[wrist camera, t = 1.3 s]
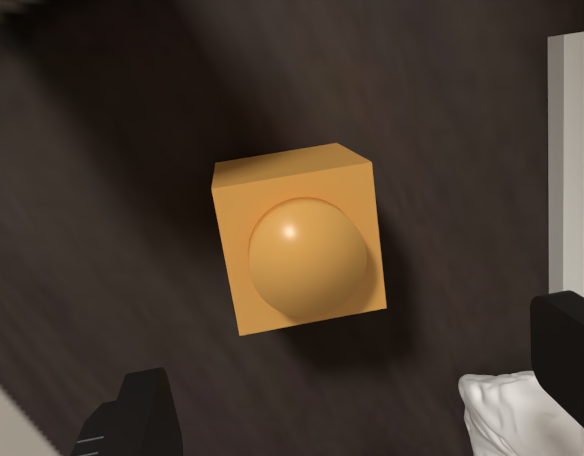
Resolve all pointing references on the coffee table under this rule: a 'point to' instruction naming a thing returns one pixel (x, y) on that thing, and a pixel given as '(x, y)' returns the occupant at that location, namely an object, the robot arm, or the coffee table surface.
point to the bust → (517, 417)
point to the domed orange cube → (299, 236)
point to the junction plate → (566, 162)
